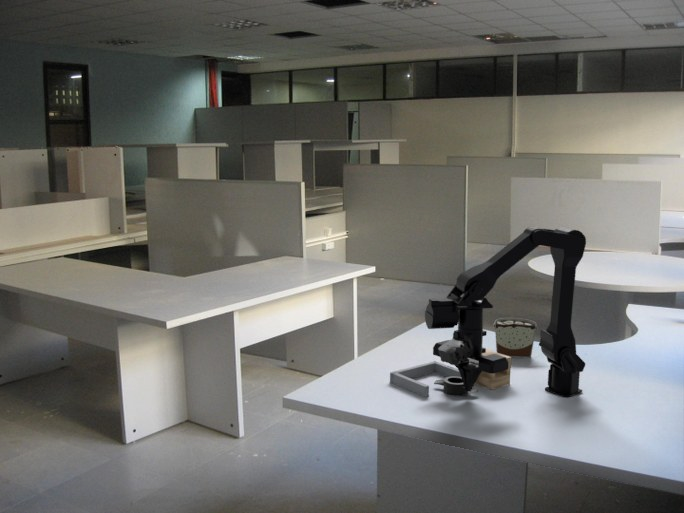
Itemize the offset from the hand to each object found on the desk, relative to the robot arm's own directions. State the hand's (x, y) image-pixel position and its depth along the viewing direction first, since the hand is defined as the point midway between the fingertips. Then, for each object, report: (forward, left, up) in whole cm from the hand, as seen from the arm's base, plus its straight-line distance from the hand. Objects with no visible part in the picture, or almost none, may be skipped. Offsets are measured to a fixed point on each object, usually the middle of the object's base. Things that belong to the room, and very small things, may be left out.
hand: (468, 391), depth 164 cm
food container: (+16, -36, -2) cm, 40 cm away
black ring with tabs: (+5, -1, -2) cm, 5 cm away
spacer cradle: (+13, 0, -2) cm, 13 cm away
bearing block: (+4, -12, -2) cm, 13 cm away
